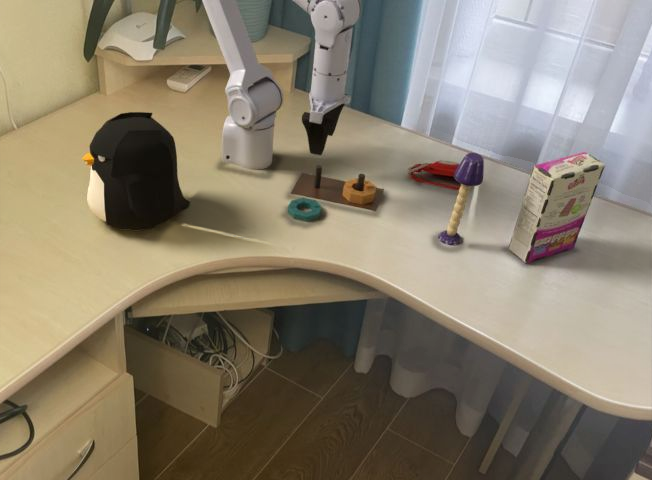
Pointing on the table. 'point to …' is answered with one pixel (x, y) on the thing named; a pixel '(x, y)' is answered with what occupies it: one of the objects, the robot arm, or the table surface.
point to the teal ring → (303, 215)
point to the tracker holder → (435, 171)
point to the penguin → (134, 173)
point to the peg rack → (331, 189)
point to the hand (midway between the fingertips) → (321, 143)
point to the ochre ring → (359, 192)
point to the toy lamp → (463, 194)
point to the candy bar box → (555, 206)
